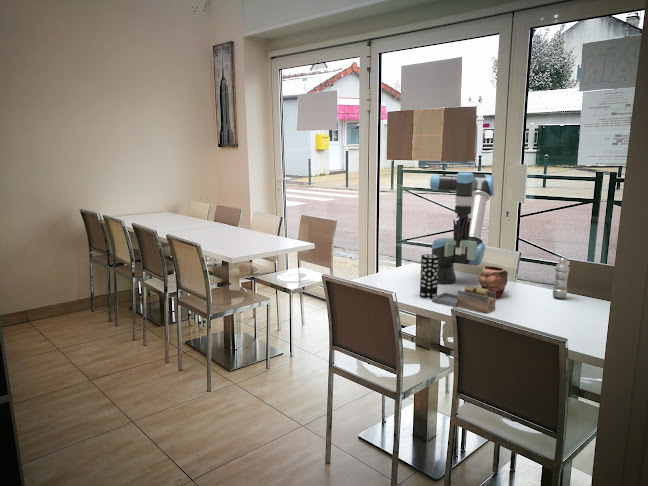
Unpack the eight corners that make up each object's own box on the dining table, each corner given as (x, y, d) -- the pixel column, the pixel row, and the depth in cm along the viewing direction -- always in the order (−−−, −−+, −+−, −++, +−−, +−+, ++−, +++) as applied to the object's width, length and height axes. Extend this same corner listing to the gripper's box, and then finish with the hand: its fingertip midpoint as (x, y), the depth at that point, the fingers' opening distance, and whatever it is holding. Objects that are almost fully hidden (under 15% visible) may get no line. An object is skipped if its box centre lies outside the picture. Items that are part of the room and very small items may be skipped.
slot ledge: (466, 301, 243) (467, 286, 241) (494, 308, 234) (496, 292, 232) (456, 306, 235) (457, 291, 234) (486, 313, 226) (487, 297, 225)
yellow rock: (479, 296, 235) (480, 287, 234) (487, 298, 232) (488, 289, 231) (475, 298, 232) (476, 289, 231) (484, 300, 229) (484, 291, 228)
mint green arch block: (449, 254, 255) (450, 237, 254) (477, 258, 245) (478, 241, 244) (442, 255, 251) (443, 238, 250) (471, 260, 241) (472, 242, 239)
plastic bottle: (566, 297, 251) (570, 257, 247) (566, 300, 245) (570, 260, 241) (552, 295, 254) (556, 255, 250) (551, 299, 248) (555, 258, 244)
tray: (444, 296, 251) (444, 292, 251) (467, 301, 243) (467, 297, 243) (432, 301, 242) (432, 297, 242) (455, 307, 235) (455, 303, 234)
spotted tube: (437, 299, 246) (439, 258, 243) (419, 298, 248) (421, 257, 244) (436, 294, 254) (439, 254, 251) (419, 293, 256) (421, 253, 252)
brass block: (468, 293, 238) (468, 285, 237) (476, 295, 236) (476, 287, 235) (464, 295, 235) (464, 287, 234) (472, 297, 233) (473, 289, 232)
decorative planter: (493, 288, 264) (495, 262, 262) (515, 294, 255) (517, 267, 253) (470, 296, 252) (472, 268, 249) (492, 302, 243) (495, 273, 240)
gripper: (464, 203, 252) (461, 250, 256) (447, 205, 240) (444, 254, 244) (478, 204, 247) (475, 252, 251) (462, 207, 235) (458, 257, 239)
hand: (460, 253), depth 248 cm, fingers closed on mint green arch block, 3 cm apart
